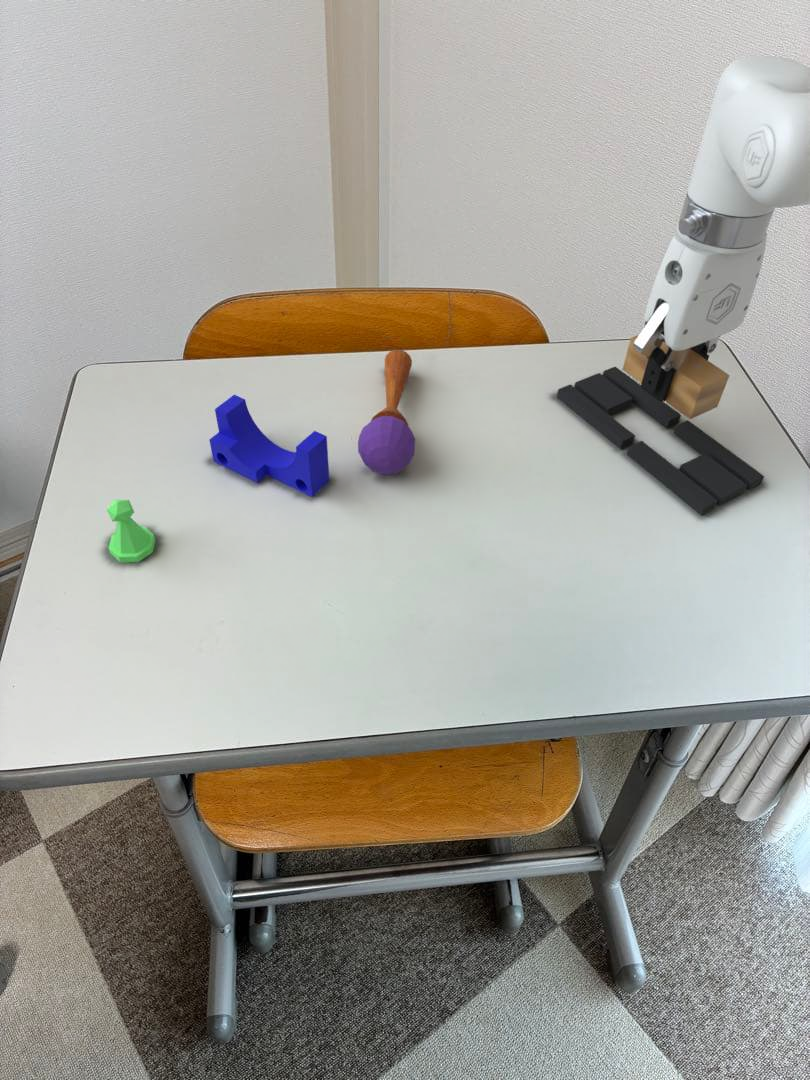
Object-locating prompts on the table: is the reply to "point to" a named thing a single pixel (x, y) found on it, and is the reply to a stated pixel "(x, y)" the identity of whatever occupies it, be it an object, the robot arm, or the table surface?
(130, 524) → the game piece
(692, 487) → the pad
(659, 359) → the robot arm
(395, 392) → the kendama
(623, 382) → the pad
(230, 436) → the blue cradle bracket
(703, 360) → the block
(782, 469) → the table surface
